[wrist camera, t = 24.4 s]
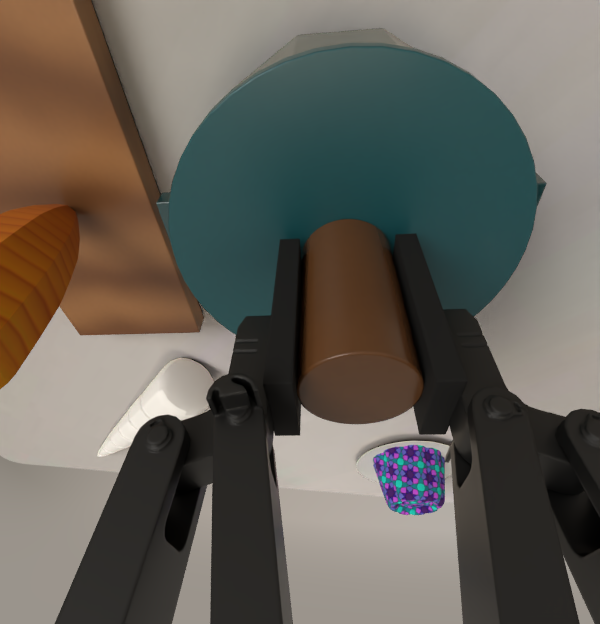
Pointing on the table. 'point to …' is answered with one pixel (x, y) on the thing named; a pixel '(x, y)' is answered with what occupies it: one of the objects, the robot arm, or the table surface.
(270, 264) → the lid
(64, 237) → the carrot
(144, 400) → the unicorn horn
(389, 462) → the pudding
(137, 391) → the table surface
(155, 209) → the board
